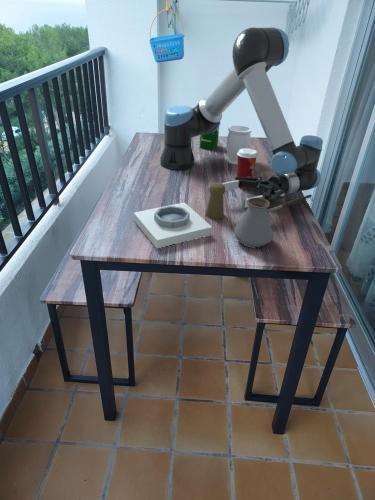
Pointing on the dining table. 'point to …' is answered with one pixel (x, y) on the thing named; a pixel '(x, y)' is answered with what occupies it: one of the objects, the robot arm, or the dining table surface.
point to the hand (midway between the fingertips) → (233, 194)
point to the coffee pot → (258, 222)
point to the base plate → (169, 233)
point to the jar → (237, 141)
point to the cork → (215, 201)
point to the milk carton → (209, 140)
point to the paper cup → (246, 163)
